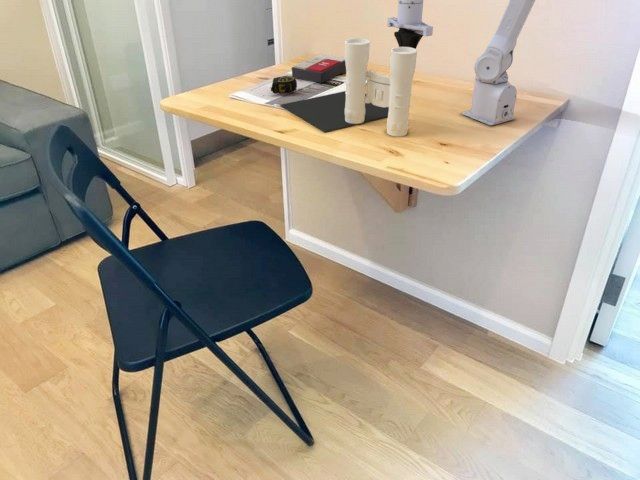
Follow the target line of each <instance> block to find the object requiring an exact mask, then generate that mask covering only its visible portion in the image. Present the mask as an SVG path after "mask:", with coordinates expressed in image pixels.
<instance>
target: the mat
mask: <svg viewBox="0 0 640 480" xmlns="http://www.w3.org/2000/svg"><path fill="white" fill-rule="evenodd" d="M345 92H346V90H344V91H340V92H335V93H334V92H333V93H329V94H326V95H320V96H315V97H310V98H306V99H301V100H296V101H292V102H286V103H283V104H280V105H279V106H280V107H282V108H283V109H285V110H287V111H288V112H290V113H291V114H292V115H295V116H297V117H298V118H300V119H301V120H303V121H305V122H306V123H308V124H309V125H311V126H313V127H314V128H316V129H318V130H320V131H321V132H323V133H329V132H334V131H337V130H341V129H346V128H349V127H350V128H351V127H355V126H357V125H362V124H366V123H370V122H374V121H379V120H382V119H386V118H387V119H388V112H389V107H379V106H376V105H373V104H372V103H365V109H366V110H365V117H364V122H362V123H359V124H351V123H347V122H346V121H345V102H346V94H345ZM365 96H366V93H365Z"/></svg>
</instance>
